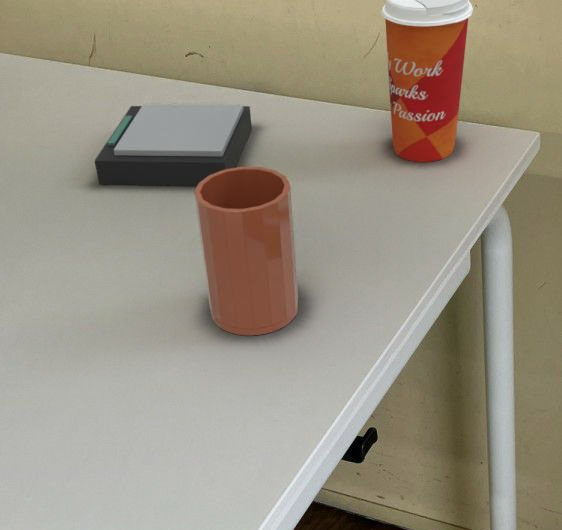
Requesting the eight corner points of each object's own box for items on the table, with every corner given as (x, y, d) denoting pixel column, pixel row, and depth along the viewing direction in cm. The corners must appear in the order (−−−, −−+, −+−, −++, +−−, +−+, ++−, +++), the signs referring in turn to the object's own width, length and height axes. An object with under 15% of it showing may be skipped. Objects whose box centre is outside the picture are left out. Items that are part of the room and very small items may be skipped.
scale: (98, 184, 92) (92, 154, 90) (134, 128, 101) (130, 99, 99) (227, 186, 90) (223, 155, 88) (252, 129, 99) (249, 99, 97)
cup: (202, 334, 72) (185, 210, 66) (221, 285, 77) (206, 165, 71) (290, 337, 71) (281, 212, 65) (303, 287, 76) (296, 167, 70)
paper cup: (364, 150, 94) (362, -3, 85) (420, 123, 97) (423, -26, 89) (428, 176, 89) (432, 16, 80) (484, 146, 93) (494, -9, 84)
